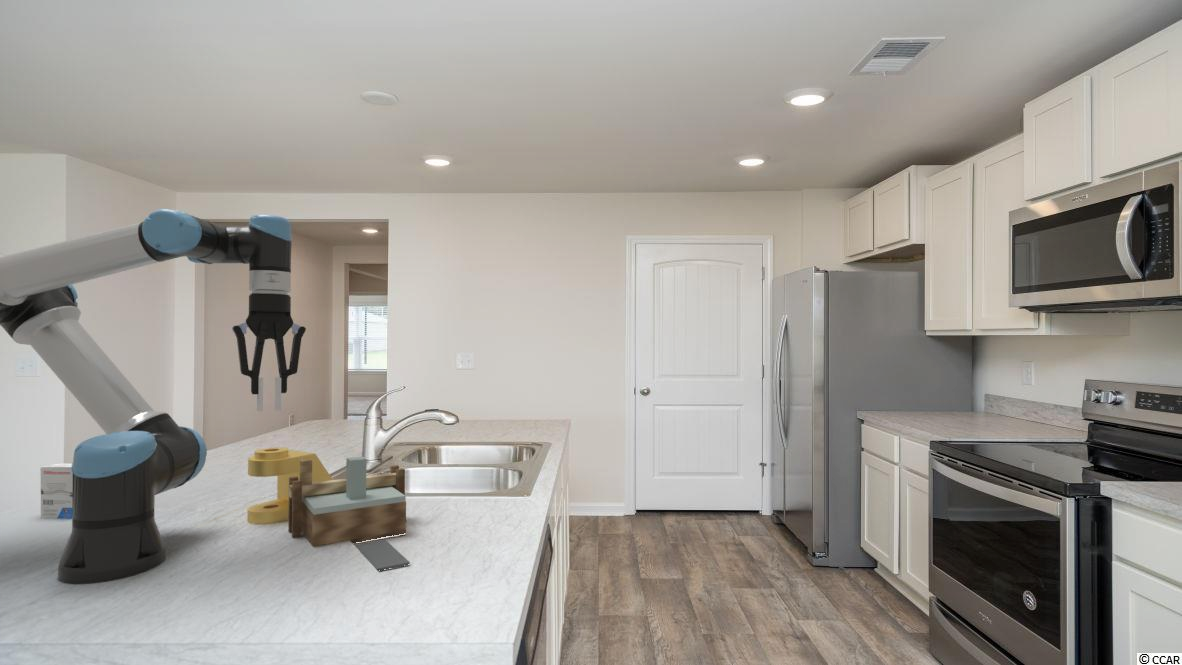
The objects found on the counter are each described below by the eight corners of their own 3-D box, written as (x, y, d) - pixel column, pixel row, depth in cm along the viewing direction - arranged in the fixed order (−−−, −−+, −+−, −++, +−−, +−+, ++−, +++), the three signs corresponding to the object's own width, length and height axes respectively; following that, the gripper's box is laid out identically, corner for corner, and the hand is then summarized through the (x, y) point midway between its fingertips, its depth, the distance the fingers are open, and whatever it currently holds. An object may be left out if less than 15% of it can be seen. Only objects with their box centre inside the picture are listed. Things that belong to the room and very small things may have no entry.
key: (290, 498, 127) (291, 462, 127) (288, 495, 129) (289, 460, 129) (403, 483, 140) (403, 451, 140) (400, 481, 142) (400, 450, 142)
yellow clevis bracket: (264, 530, 133) (264, 455, 133) (238, 524, 138) (239, 451, 138) (342, 508, 151) (343, 442, 151) (317, 503, 155) (317, 438, 155)
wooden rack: (300, 553, 119) (300, 490, 119) (288, 535, 130) (288, 477, 130) (416, 533, 132) (417, 476, 132) (396, 517, 143) (397, 465, 143)
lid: (313, 514, 120) (314, 466, 121) (301, 500, 131) (302, 456, 131) (405, 501, 131) (405, 457, 131) (387, 489, 141) (387, 448, 141)
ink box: (93, 513, 145) (93, 462, 145) (73, 520, 140) (74, 467, 140) (59, 512, 146) (60, 462, 146) (38, 518, 141) (39, 466, 141)
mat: (288, 590, 102) (288, 586, 102) (274, 562, 114) (274, 559, 114) (409, 565, 113) (409, 562, 113) (385, 542, 126) (385, 539, 126)
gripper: (227, 290, 118) (225, 414, 118) (315, 294, 127) (314, 409, 127) (223, 292, 125) (222, 410, 124) (308, 296, 133) (307, 406, 133)
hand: (268, 410), depth 126 cm, fingers open, 3 cm apart
